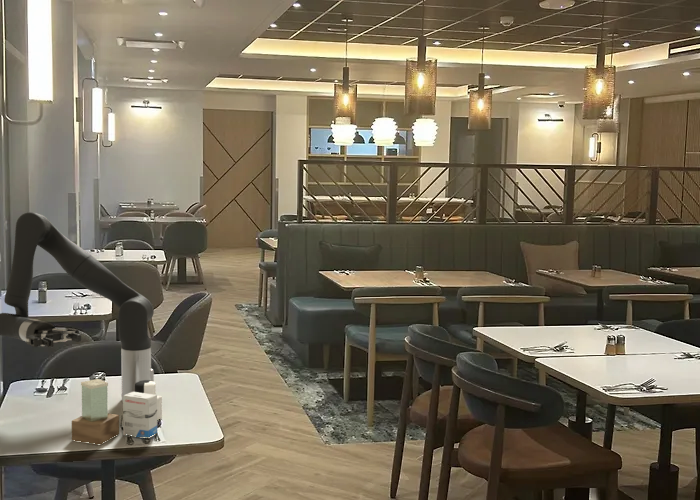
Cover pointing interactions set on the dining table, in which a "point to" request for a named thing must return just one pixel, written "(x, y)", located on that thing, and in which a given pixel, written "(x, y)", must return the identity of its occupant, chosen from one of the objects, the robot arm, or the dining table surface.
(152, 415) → the ink box
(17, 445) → the dining table surface
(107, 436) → the walnut block
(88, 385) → the tea tin
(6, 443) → the dining table surface
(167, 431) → the dining table surface
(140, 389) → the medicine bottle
